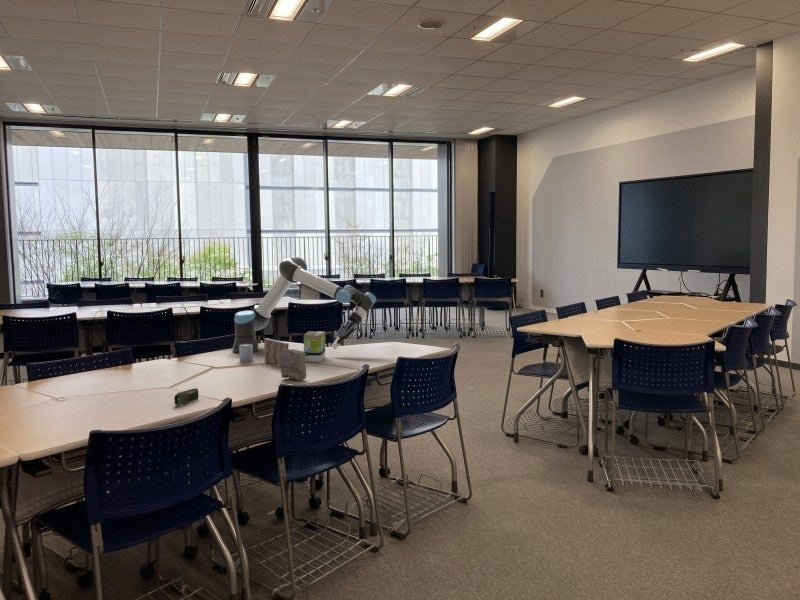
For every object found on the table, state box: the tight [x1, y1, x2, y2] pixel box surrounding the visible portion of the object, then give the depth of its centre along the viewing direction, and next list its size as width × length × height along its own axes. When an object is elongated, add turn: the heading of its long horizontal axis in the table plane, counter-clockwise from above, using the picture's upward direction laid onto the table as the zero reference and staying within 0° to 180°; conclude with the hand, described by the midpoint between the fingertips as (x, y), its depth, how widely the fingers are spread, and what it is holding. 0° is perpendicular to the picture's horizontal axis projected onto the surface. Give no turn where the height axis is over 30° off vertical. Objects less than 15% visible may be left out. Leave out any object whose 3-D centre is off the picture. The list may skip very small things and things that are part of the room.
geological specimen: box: [280, 348, 307, 381], centre depth 292 cm, size 11×6×15 cm, turn 61°
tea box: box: [303, 331, 326, 363], centre depth 344 cm, size 15×10×15 cm
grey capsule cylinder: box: [239, 344, 254, 363], centre depth 340 cm, size 7×7×9 cm
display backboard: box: [263, 337, 290, 367], centre depth 329 cm, size 24×2×13 cm, turn 39°
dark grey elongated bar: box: [174, 387, 199, 408], centre depth 252 cm, size 5×3×15 cm
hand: (333, 347), depth 352 cm, fingers closed
